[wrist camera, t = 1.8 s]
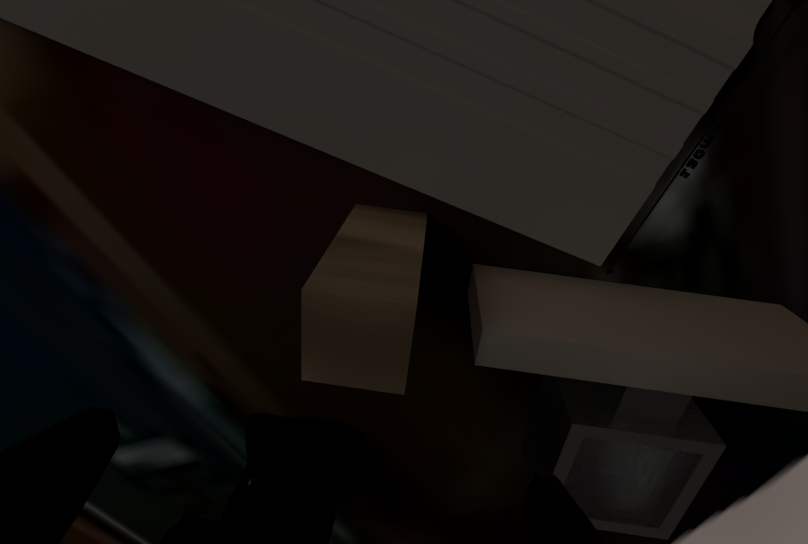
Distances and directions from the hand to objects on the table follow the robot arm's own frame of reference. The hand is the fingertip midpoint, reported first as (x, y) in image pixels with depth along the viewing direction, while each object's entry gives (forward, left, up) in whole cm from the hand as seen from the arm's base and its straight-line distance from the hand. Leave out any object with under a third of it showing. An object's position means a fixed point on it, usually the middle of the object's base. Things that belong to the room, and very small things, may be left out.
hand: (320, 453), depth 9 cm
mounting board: (-1, -11, -12) cm, 16 cm away
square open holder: (-6, -11, -10) cm, 16 cm away
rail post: (0, 0, -12) cm, 12 cm away
